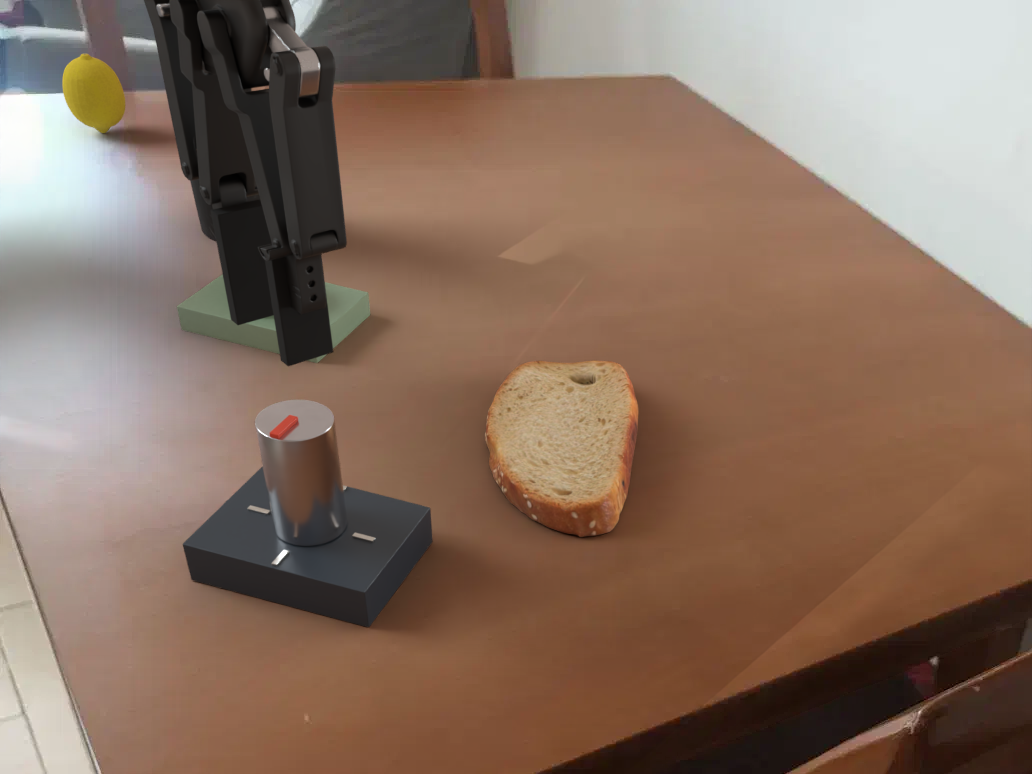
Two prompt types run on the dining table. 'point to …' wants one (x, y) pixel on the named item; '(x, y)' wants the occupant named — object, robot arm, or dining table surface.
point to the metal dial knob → (302, 471)
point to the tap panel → (312, 554)
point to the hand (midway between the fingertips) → (281, 335)
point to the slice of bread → (565, 443)
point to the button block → (213, 317)
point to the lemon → (93, 93)
